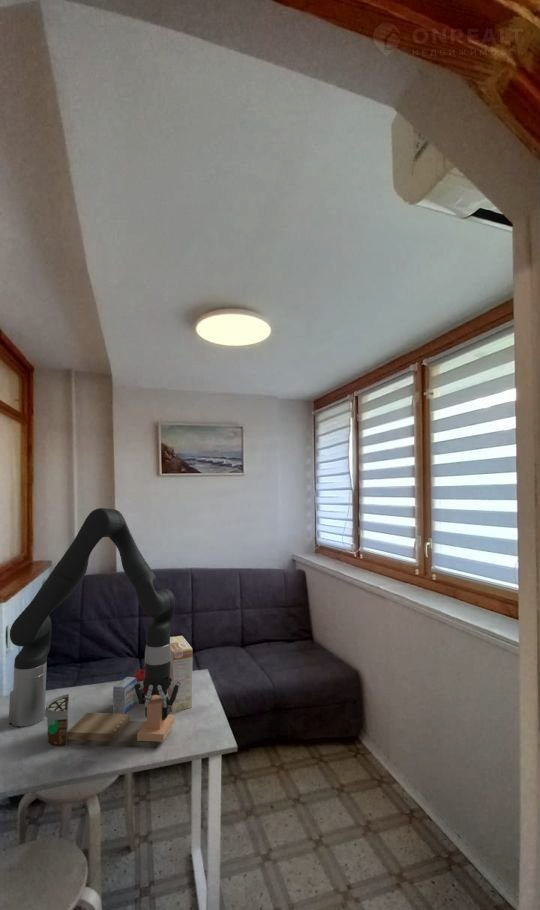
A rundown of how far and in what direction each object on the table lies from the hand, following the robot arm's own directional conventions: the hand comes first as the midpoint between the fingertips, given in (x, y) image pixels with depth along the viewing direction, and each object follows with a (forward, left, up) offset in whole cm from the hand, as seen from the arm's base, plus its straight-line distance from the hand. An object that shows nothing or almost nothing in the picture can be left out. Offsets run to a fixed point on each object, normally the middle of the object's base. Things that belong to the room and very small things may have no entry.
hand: (156, 718), depth 127 cm
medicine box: (-16, +16, -6) cm, 24 cm away
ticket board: (-11, 0, -5) cm, 13 cm away
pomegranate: (-14, +29, -6) cm, 33 cm away
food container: (-29, -3, -5) cm, 30 cm away
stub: (0, 0, -4) cm, 4 cm away
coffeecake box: (0, +22, -6) cm, 23 cm away
